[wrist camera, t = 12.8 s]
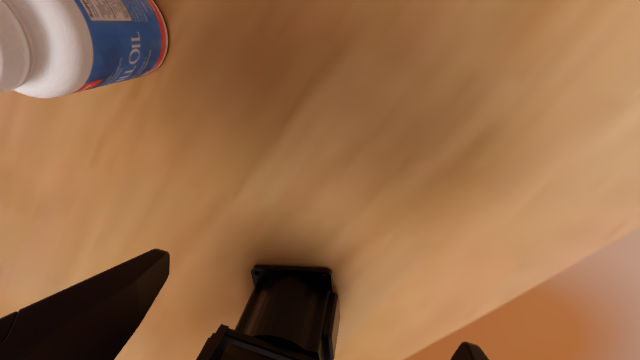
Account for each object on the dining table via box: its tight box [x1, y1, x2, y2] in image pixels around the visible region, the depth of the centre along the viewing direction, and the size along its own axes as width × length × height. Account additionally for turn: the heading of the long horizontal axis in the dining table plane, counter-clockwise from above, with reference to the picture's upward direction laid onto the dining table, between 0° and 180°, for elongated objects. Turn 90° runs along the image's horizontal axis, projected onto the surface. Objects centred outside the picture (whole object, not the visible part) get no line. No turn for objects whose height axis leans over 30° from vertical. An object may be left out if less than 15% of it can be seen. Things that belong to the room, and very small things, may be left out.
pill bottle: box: [0, 0, 168, 98], centre depth 16 cm, size 6×5×10 cm
